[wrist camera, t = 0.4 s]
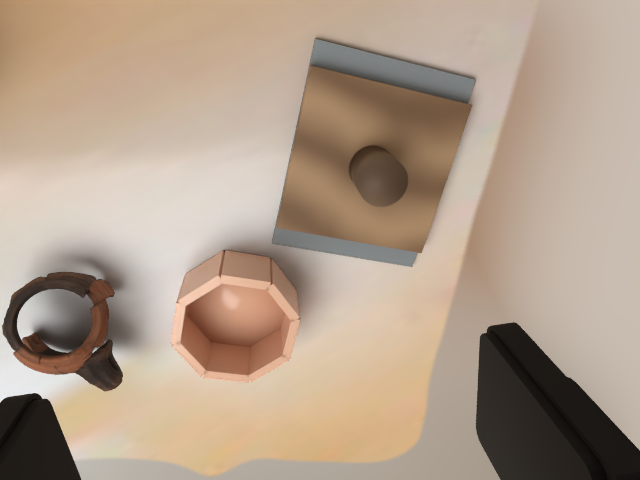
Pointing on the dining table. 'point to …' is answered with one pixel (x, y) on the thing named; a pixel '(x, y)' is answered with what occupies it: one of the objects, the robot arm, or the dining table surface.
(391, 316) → the dining table surface
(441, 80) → the mat
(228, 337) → the bowl
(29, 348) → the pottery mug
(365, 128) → the lid
